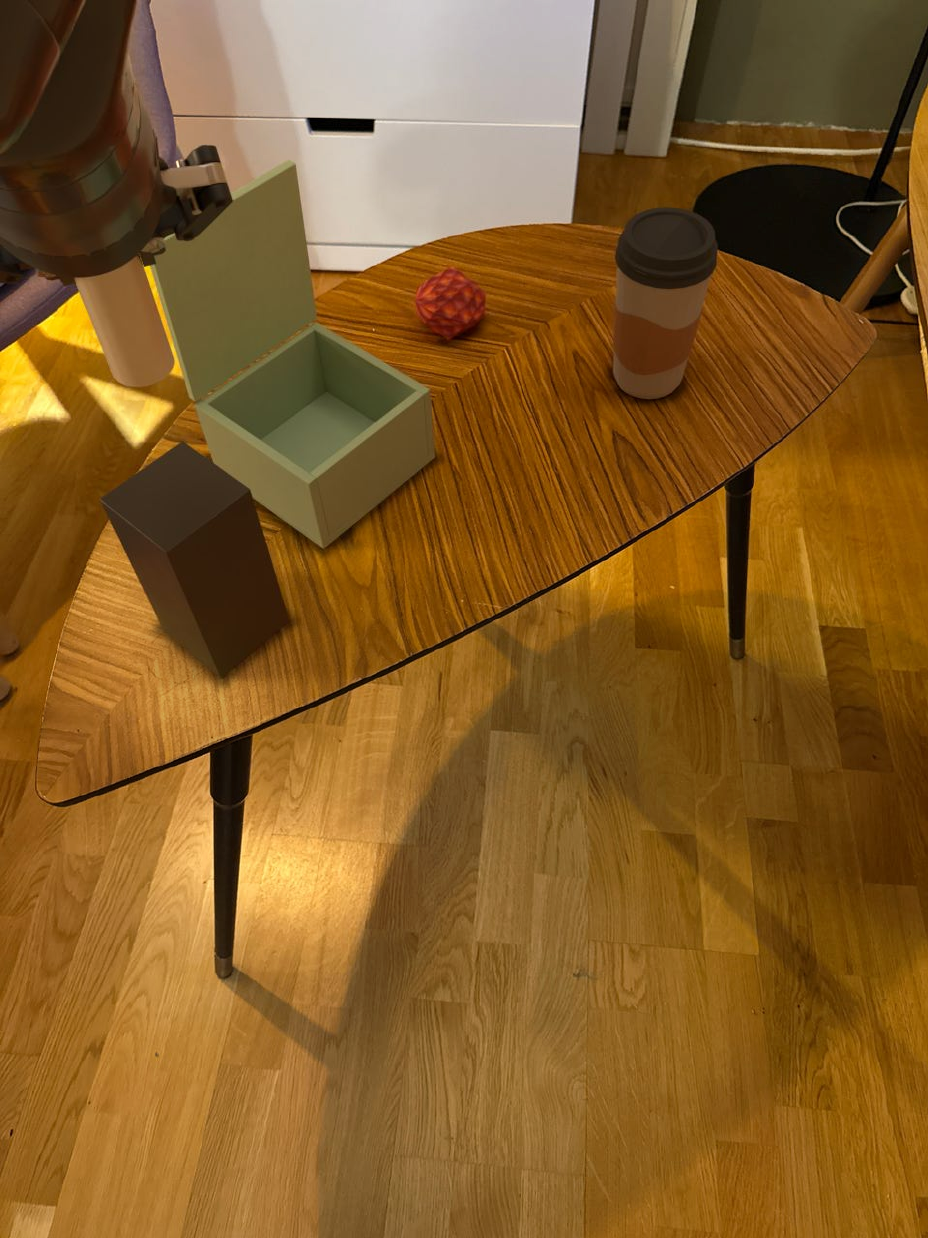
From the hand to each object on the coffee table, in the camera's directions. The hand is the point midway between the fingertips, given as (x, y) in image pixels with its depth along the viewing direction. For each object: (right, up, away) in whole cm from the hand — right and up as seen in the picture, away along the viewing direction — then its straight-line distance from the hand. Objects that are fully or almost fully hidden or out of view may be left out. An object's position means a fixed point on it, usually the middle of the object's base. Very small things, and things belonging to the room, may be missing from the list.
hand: (104, 255), depth 53 cm
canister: (+1, -5, +4) cm, 6 cm away
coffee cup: (+36, +3, +39) cm, 53 cm away
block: (+1, -20, +23) cm, 31 cm away
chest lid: (+2, +6, +23) cm, 24 cm away
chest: (+7, -6, +33) cm, 34 cm away
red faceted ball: (+18, +9, +44) cm, 48 cm away
